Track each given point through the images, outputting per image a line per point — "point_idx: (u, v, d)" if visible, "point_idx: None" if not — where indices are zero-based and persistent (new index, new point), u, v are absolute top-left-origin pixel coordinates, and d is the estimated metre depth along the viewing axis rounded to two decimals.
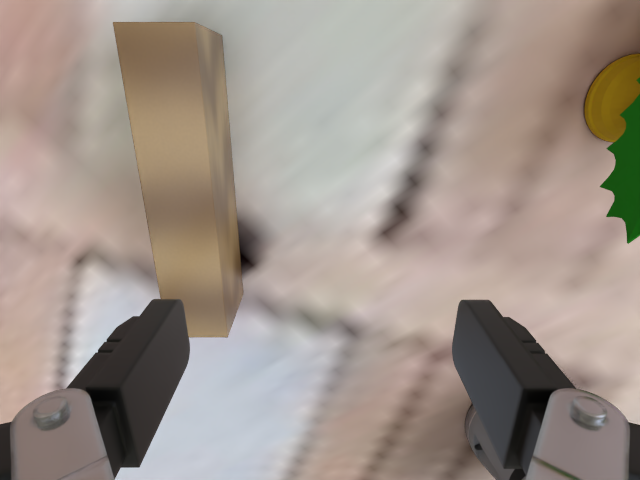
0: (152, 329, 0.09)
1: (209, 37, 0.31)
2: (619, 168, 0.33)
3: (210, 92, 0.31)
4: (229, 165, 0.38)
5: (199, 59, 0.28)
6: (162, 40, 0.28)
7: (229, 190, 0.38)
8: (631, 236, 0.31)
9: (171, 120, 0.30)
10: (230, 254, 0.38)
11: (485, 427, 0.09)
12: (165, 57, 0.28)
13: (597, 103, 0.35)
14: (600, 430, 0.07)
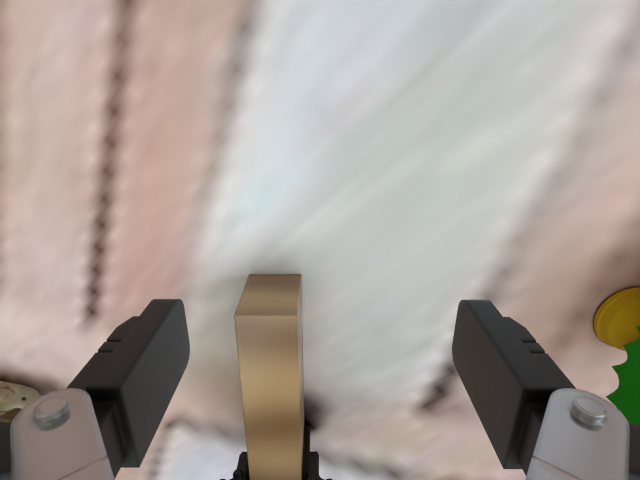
0: (152, 329, 0.09)
1: (299, 300, 0.39)
2: (622, 389, 0.42)
3: (299, 342, 0.39)
4: (302, 366, 0.46)
5: (297, 336, 0.36)
6: (271, 326, 0.36)
7: (302, 386, 0.46)
8: None
9: (272, 373, 0.38)
10: (302, 437, 0.46)
11: (485, 427, 0.09)
12: (271, 335, 0.36)
13: (604, 325, 0.44)
14: (600, 430, 0.07)
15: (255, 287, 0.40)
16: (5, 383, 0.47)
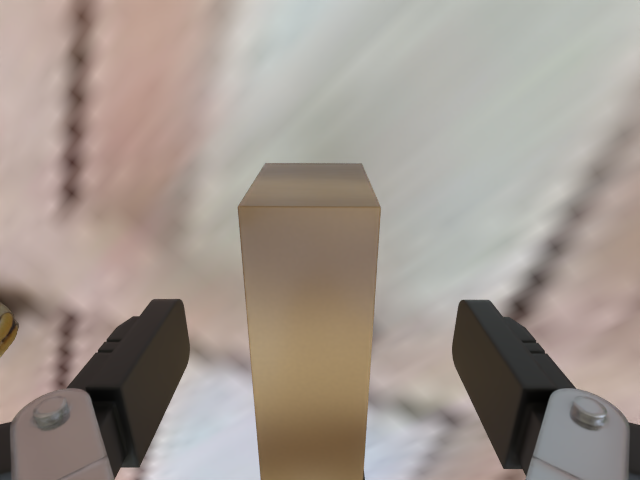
0: (152, 329, 0.09)
1: None
2: None
3: None
4: None
5: None
6: (320, 233, 0.16)
7: None
8: None
9: (317, 341, 0.18)
10: None
11: (485, 427, 0.09)
12: (320, 256, 0.16)
13: None
14: (600, 430, 0.07)
15: (278, 175, 0.20)
16: None
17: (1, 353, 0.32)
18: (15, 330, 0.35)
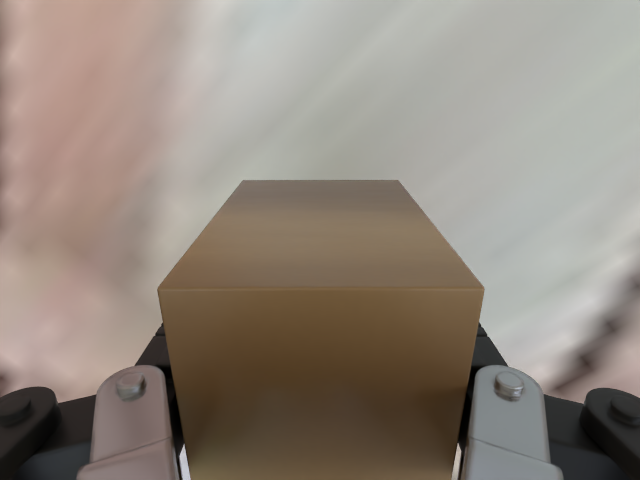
0: None
1: None
2: None
3: None
4: None
5: (464, 389, 0.08)
6: (344, 344, 0.07)
7: None
8: None
9: None
10: None
11: None
12: (344, 388, 0.08)
13: None
14: (515, 400, 0.07)
15: (261, 203, 0.12)
16: None
17: None
18: None
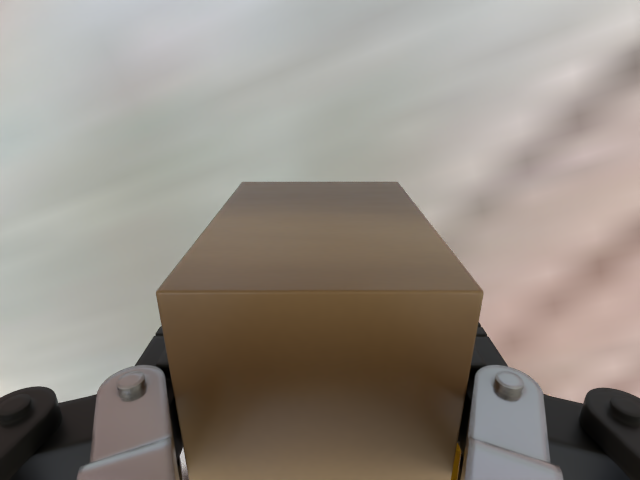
0: None
1: None
2: None
3: None
4: None
5: (463, 392, 0.08)
6: (343, 347, 0.07)
7: None
8: None
9: None
10: None
11: None
12: (343, 391, 0.08)
13: None
14: (515, 400, 0.07)
15: (260, 205, 0.12)
16: None
17: None
18: None
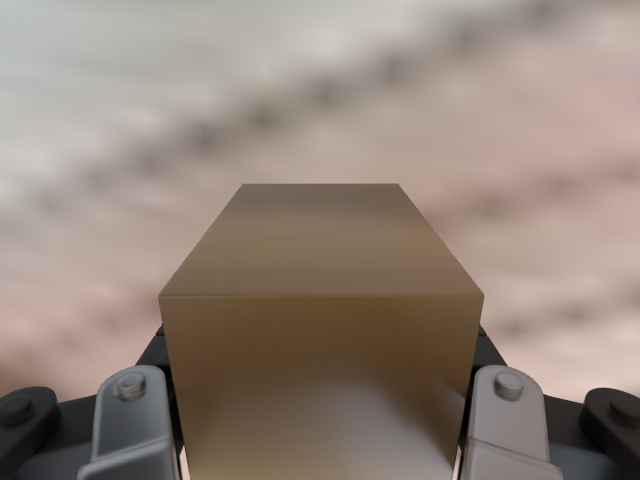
0: None
1: None
2: None
3: None
4: None
5: (463, 394, 0.08)
6: (345, 350, 0.07)
7: None
8: None
9: None
10: None
11: None
12: (344, 394, 0.08)
13: None
14: (515, 400, 0.07)
15: (261, 207, 0.12)
16: None
17: None
18: None
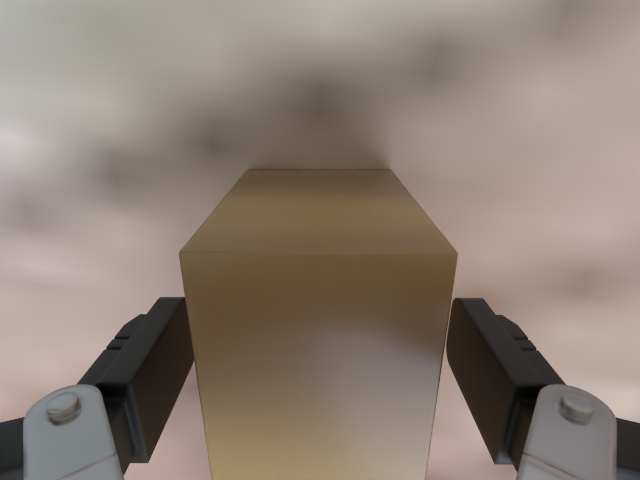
0: (160, 327, 0.10)
1: None
2: None
3: None
4: None
5: (442, 344, 0.09)
6: (338, 302, 0.08)
7: None
8: None
9: (330, 478, 0.10)
10: None
11: (477, 423, 0.09)
12: (339, 342, 0.09)
13: None
14: (587, 425, 0.07)
15: (265, 188, 0.13)
16: None
17: None
18: None
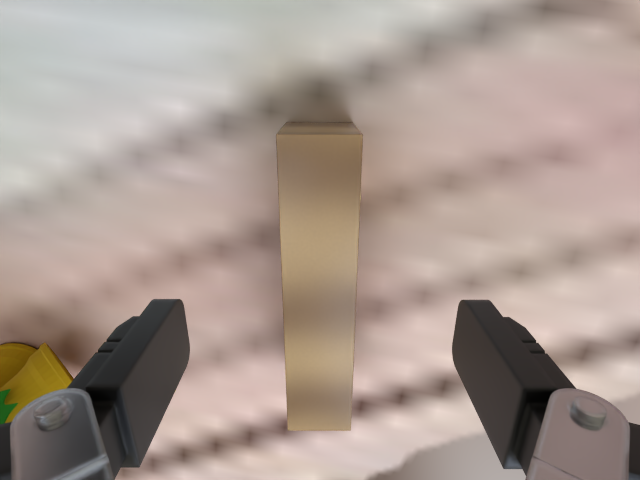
0: (152, 329, 0.09)
1: None
2: None
3: None
4: None
5: None
6: (325, 152, 0.26)
7: None
8: None
9: (323, 227, 0.28)
10: None
11: (485, 427, 0.09)
12: (326, 167, 0.27)
13: None
14: (600, 430, 0.07)
15: (297, 126, 0.30)
16: None
17: None
18: None
